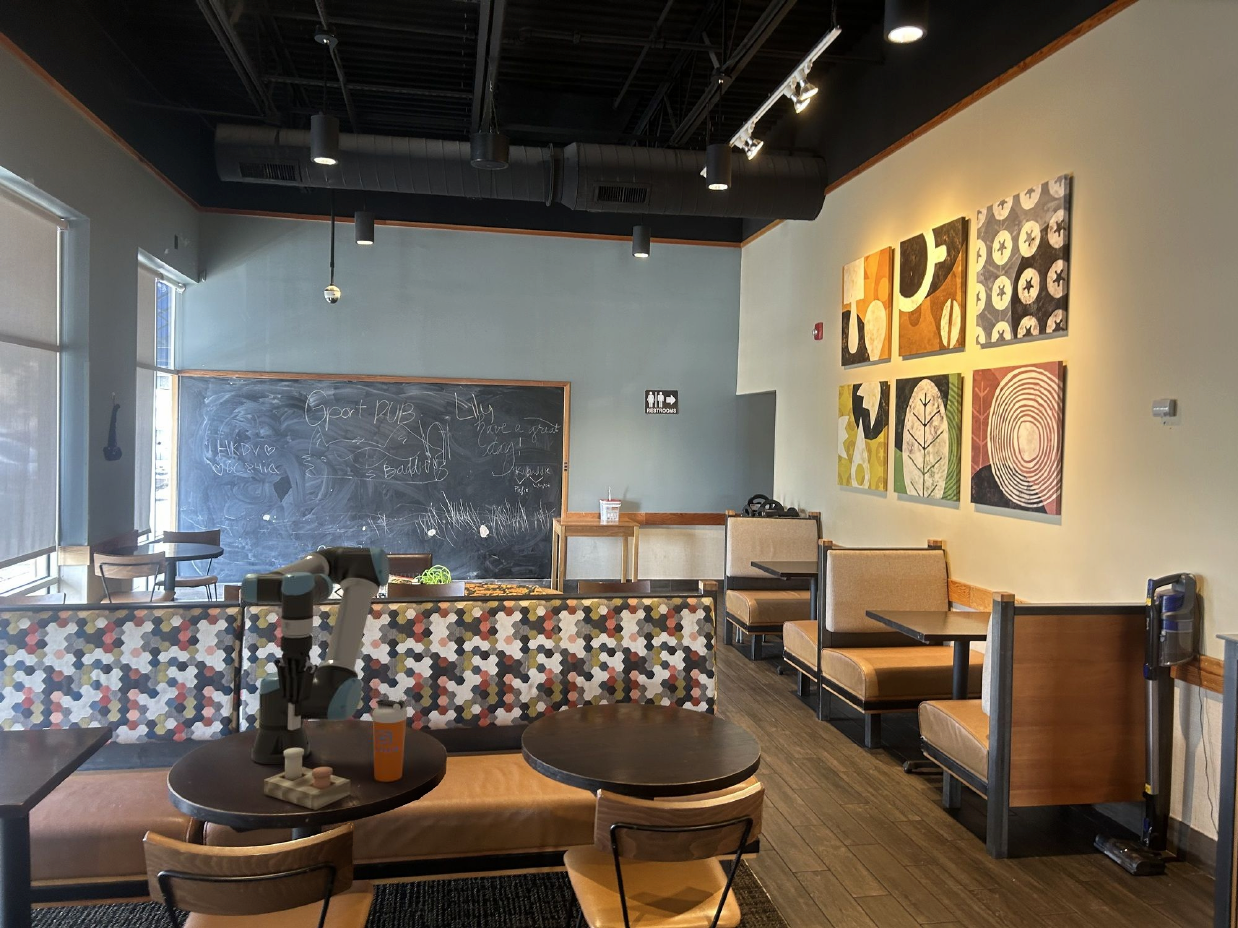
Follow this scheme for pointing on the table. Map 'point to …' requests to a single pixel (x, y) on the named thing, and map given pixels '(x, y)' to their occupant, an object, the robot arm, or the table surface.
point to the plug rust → (321, 777)
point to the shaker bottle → (389, 739)
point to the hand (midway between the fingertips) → (294, 728)
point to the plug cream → (293, 763)
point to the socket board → (306, 789)
